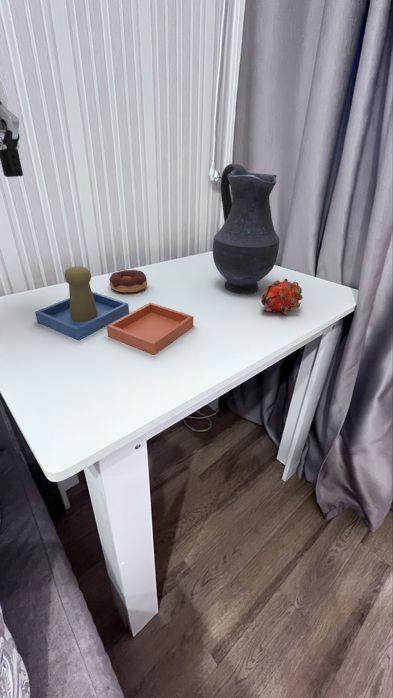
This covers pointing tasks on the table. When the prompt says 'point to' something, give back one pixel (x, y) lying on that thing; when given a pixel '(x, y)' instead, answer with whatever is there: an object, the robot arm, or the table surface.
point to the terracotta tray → (150, 327)
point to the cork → (80, 294)
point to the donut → (128, 281)
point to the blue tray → (61, 321)
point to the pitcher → (245, 230)
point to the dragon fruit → (282, 296)
